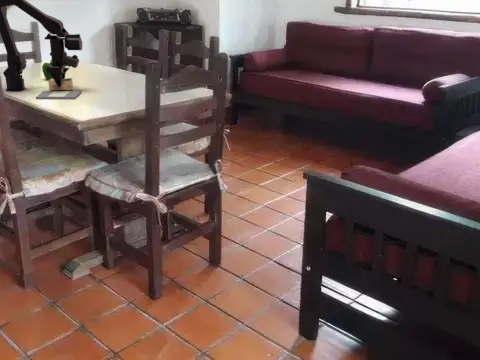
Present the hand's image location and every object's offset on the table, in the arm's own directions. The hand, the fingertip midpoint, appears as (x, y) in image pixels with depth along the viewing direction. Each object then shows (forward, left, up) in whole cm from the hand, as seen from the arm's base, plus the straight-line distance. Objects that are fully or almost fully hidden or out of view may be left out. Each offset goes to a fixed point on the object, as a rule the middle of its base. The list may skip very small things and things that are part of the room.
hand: (61, 85), depth 242 cm
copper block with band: (0, 0, -1) cm, 1 cm away
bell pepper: (-10, +24, -2) cm, 26 cm away
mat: (+2, -12, -2) cm, 12 cm away
